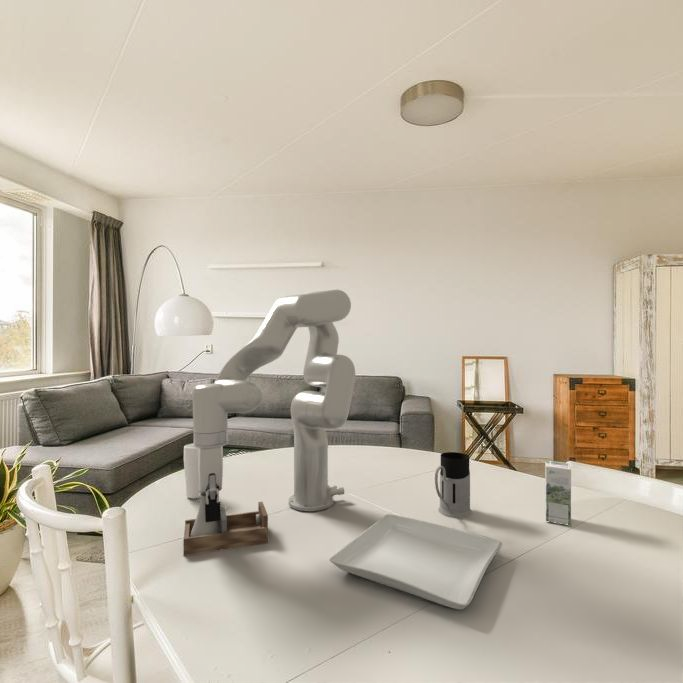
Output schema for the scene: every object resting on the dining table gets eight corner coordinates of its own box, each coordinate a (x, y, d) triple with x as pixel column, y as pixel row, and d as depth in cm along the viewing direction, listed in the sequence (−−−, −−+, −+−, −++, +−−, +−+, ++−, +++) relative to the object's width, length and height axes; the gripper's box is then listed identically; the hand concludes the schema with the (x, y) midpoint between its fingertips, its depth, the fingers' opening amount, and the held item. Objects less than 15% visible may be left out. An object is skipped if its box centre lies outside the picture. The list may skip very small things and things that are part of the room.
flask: (226, 531, 100) (226, 488, 100) (215, 545, 92) (216, 500, 92) (195, 530, 100) (196, 487, 100) (183, 544, 93) (183, 499, 93)
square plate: (467, 628, 68) (467, 604, 68) (326, 577, 82) (326, 557, 82) (503, 556, 91) (503, 537, 91) (387, 526, 105) (387, 510, 105)
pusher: (224, 525, 102) (224, 506, 102) (226, 541, 94) (226, 520, 94) (220, 526, 102) (220, 506, 102) (222, 542, 94) (222, 520, 94)
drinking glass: (178, 498, 123) (178, 447, 123) (194, 491, 130) (194, 441, 130) (197, 501, 121) (197, 449, 121) (212, 493, 127) (212, 443, 127)
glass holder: (477, 511, 114) (477, 455, 114) (451, 527, 104) (451, 466, 104) (448, 502, 120) (448, 449, 120) (421, 517, 110) (421, 459, 110)
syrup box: (569, 518, 109) (569, 462, 110) (571, 527, 104) (571, 468, 104) (545, 514, 112) (545, 459, 112) (545, 523, 107) (545, 465, 107)
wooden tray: (262, 524, 106) (262, 500, 106) (268, 543, 96) (268, 516, 96) (185, 534, 100) (185, 509, 100) (183, 555, 90) (183, 527, 90)
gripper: (194, 431, 104) (195, 500, 104) (192, 449, 88) (194, 531, 88) (225, 428, 106) (227, 496, 107) (230, 445, 90) (231, 525, 90)
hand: (212, 512), depth 97 cm, fingers open, 9 cm apart
